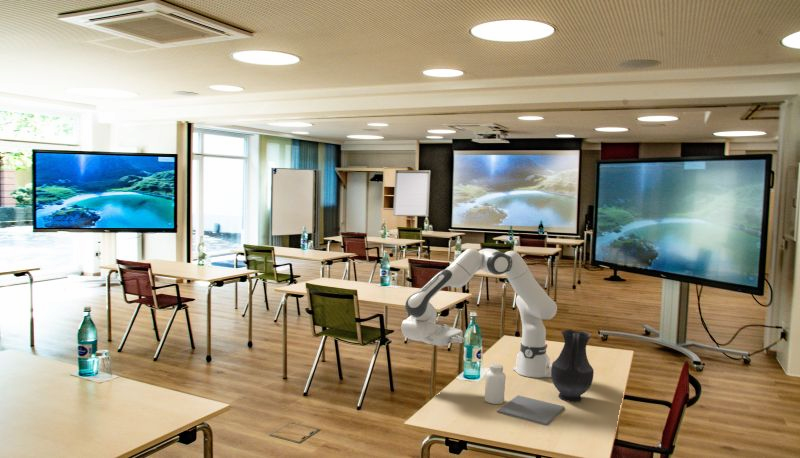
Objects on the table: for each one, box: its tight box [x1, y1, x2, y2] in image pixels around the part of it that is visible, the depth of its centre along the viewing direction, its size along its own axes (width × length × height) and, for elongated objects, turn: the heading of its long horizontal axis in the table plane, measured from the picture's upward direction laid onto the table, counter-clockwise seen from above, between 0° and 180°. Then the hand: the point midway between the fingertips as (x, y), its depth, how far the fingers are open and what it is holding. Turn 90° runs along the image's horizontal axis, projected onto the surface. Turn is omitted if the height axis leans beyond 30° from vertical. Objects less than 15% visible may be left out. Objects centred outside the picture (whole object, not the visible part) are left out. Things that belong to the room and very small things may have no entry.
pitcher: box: [550, 329, 595, 403], centre depth 253 cm, size 17×21×30 cm
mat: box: [496, 395, 565, 426], centre depth 239 cm, size 22×20×1 cm
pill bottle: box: [484, 363, 506, 405], centre depth 247 cm, size 8×8×15 cm
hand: (463, 340), depth 254 cm, fingers closed
